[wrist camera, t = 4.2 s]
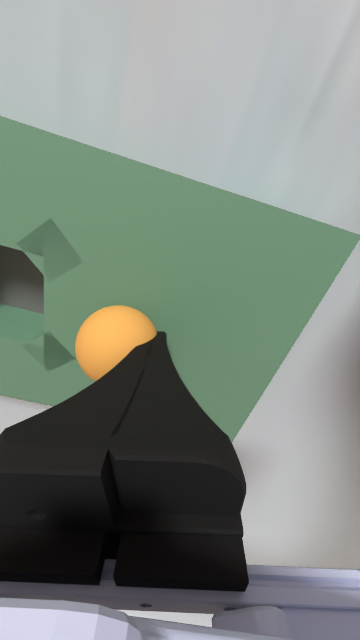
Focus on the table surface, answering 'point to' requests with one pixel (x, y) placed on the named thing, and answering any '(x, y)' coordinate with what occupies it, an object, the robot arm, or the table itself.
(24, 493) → the robot arm
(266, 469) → the table surface
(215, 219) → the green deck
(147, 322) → the ball
